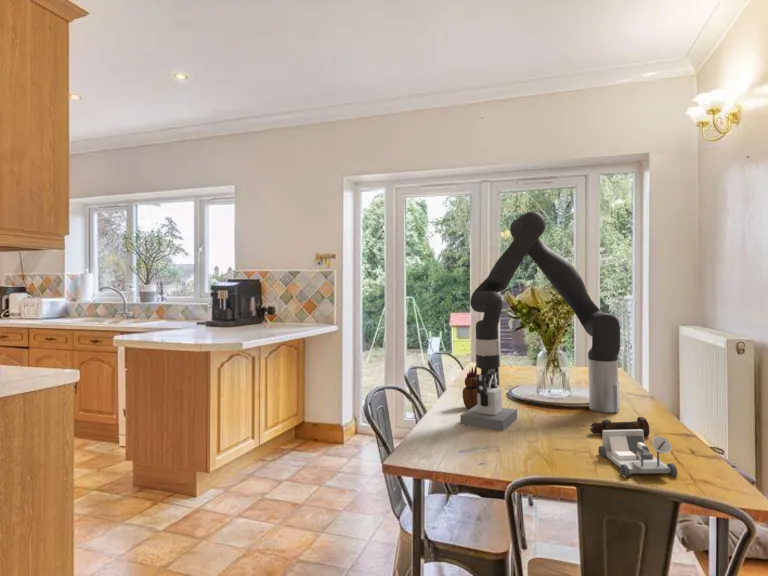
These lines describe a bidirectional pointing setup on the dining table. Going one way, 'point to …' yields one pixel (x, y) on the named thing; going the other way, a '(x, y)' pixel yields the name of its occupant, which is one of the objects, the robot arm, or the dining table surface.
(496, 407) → the skincare box
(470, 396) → the wooden figurine
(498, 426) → the stand
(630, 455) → the toy go-kart
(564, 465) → the dining table surface
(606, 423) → the bolt
